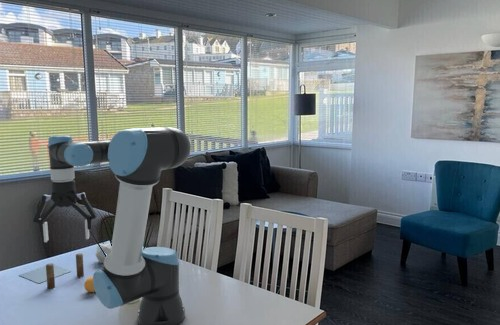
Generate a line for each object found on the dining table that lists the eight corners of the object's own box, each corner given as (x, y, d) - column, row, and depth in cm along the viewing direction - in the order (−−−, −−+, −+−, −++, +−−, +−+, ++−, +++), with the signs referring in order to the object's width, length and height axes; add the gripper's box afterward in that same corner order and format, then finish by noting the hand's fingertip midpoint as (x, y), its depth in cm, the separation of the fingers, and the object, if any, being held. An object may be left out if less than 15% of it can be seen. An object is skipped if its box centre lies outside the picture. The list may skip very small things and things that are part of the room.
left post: (56, 286, 155) (54, 264, 154) (49, 289, 153) (48, 266, 151) (52, 285, 156) (50, 262, 155) (45, 287, 154) (44, 265, 153)
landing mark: (71, 271, 169) (71, 271, 169) (38, 283, 157) (38, 283, 157) (51, 264, 177) (51, 263, 177) (18, 275, 165) (18, 275, 165)
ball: (103, 290, 152) (102, 276, 151) (90, 296, 148) (90, 281, 147) (94, 286, 155) (93, 273, 154) (81, 292, 150) (80, 278, 150)
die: (110, 267, 175) (120, 246, 179) (91, 259, 173) (102, 238, 177) (108, 267, 183) (118, 247, 186) (90, 259, 180) (101, 239, 184)
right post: (85, 275, 165) (84, 254, 164) (79, 277, 163) (78, 256, 162) (81, 274, 167) (80, 252, 165) (75, 276, 165) (74, 254, 163)
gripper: (102, 176, 147) (105, 233, 150) (27, 180, 142) (32, 239, 145) (99, 180, 140) (102, 240, 142) (19, 183, 135) (25, 245, 137)
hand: (67, 239), depth 143 cm, fingers open, 13 cm apart
